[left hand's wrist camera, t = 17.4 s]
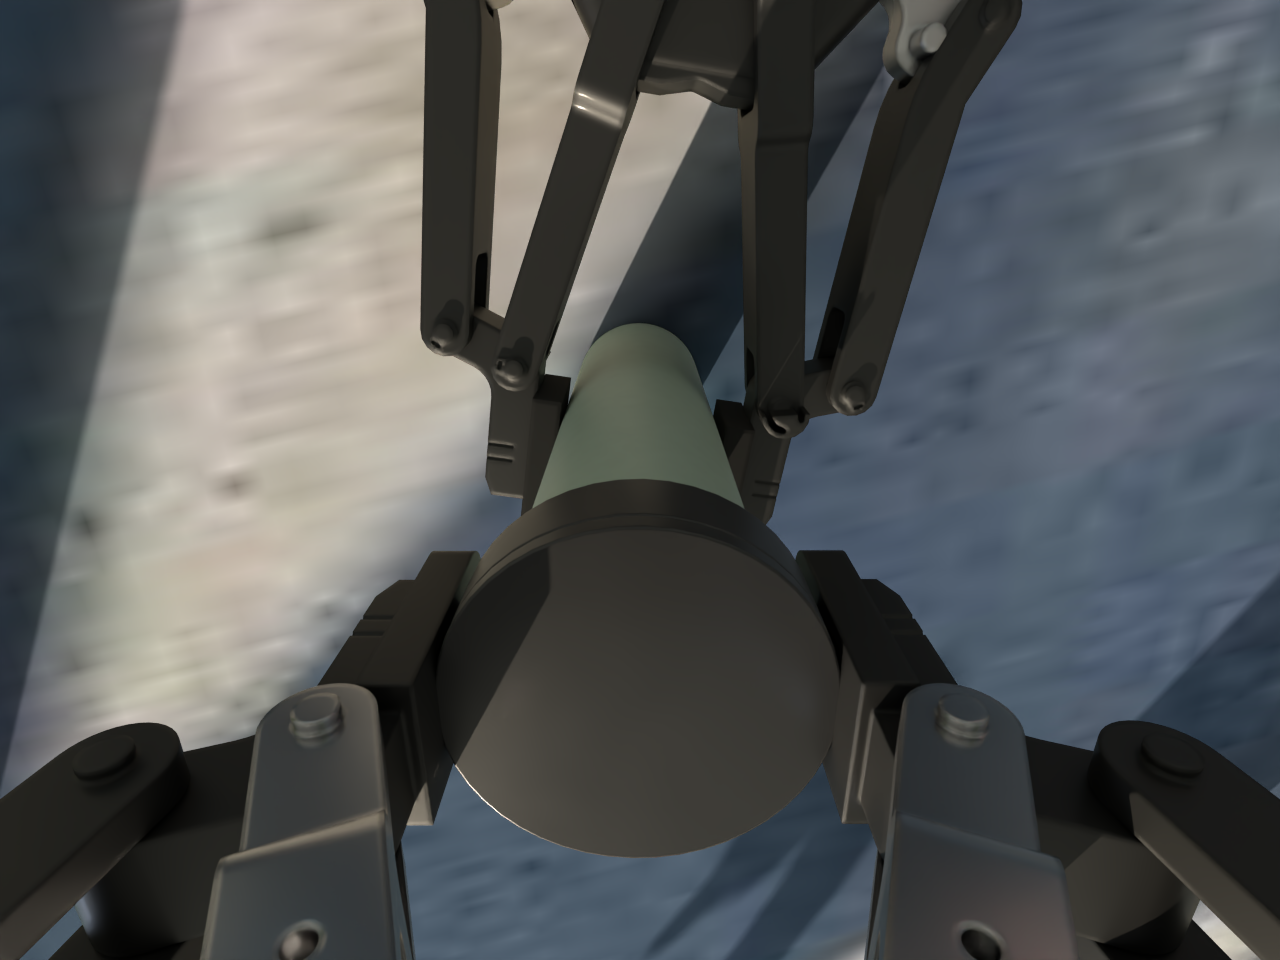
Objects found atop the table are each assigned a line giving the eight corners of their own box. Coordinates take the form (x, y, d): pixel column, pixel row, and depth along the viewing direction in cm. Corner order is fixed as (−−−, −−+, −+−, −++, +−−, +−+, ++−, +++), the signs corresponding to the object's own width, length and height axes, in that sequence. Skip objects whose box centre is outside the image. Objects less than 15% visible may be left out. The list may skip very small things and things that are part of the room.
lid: (602, 824, 12) (597, 910, 11) (387, 605, 11) (345, 672, 9) (878, 673, 11) (915, 747, 10) (683, 402, 9) (692, 440, 8)
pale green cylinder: (556, 391, 26) (421, 704, 10) (628, 297, 25) (610, 480, 9) (647, 460, 27) (659, 844, 11) (721, 373, 26) (859, 662, 10)
